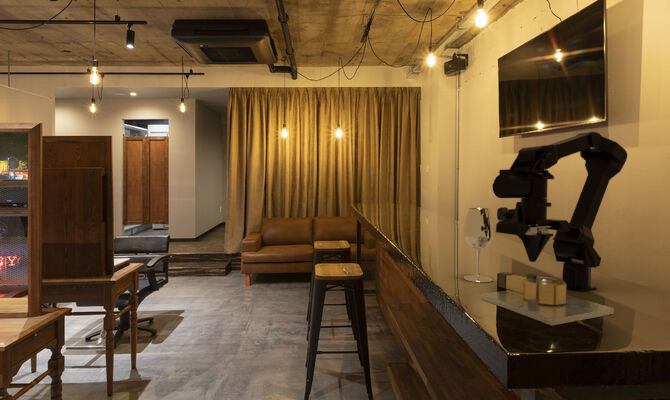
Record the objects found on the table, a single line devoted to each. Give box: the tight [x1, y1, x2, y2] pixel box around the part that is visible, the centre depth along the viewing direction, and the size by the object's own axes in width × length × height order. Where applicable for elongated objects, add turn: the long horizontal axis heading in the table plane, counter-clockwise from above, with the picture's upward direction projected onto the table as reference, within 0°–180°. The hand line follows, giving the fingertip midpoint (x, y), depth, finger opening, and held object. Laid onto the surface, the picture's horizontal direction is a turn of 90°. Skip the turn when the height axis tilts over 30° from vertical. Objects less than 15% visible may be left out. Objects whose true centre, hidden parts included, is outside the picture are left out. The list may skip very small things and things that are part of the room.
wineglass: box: [463, 207, 495, 284], centre depth 106 cm, size 8×8×20 cm
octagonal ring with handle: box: [498, 271, 567, 305], centre depth 86 cm, size 8×15×5 cm, turn 22°
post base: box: [480, 276, 615, 326], centre depth 83 cm, size 18×18×6 cm
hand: (532, 261), depth 93 cm, fingers closed
